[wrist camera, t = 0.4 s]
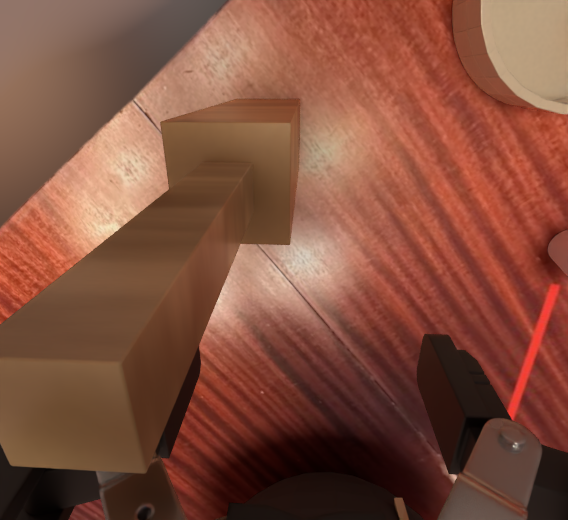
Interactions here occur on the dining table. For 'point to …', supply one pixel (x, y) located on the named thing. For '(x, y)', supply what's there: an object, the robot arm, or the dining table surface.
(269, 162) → the oak stand
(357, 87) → the dining table surface
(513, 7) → the round beige tray
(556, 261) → the smoothie
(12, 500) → the robot arm
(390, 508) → the bowl
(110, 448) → the wooden square bar
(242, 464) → the dining table surface
